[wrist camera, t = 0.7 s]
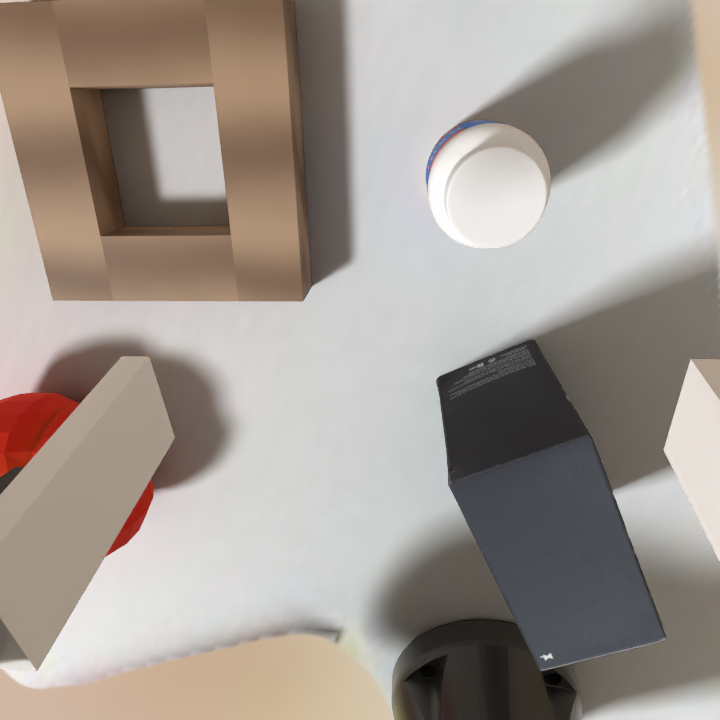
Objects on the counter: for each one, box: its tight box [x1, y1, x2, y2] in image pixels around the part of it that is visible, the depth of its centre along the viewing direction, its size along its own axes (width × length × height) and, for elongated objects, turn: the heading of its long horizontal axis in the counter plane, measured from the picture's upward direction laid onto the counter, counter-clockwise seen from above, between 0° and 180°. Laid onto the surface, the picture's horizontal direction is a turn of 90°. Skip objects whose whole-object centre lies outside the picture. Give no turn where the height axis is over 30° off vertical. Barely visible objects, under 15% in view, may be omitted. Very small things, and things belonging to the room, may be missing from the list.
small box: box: [436, 340, 666, 671], centre depth 32 cm, size 13×7×12 cm, turn 26°
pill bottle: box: [426, 120, 551, 249], centre depth 27 cm, size 6×5×10 cm
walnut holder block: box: [0, 0, 312, 301], centre depth 31 cm, size 15×15×3 cm
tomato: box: [0, 393, 153, 557], centre depth 37 cm, size 13×12×8 cm
